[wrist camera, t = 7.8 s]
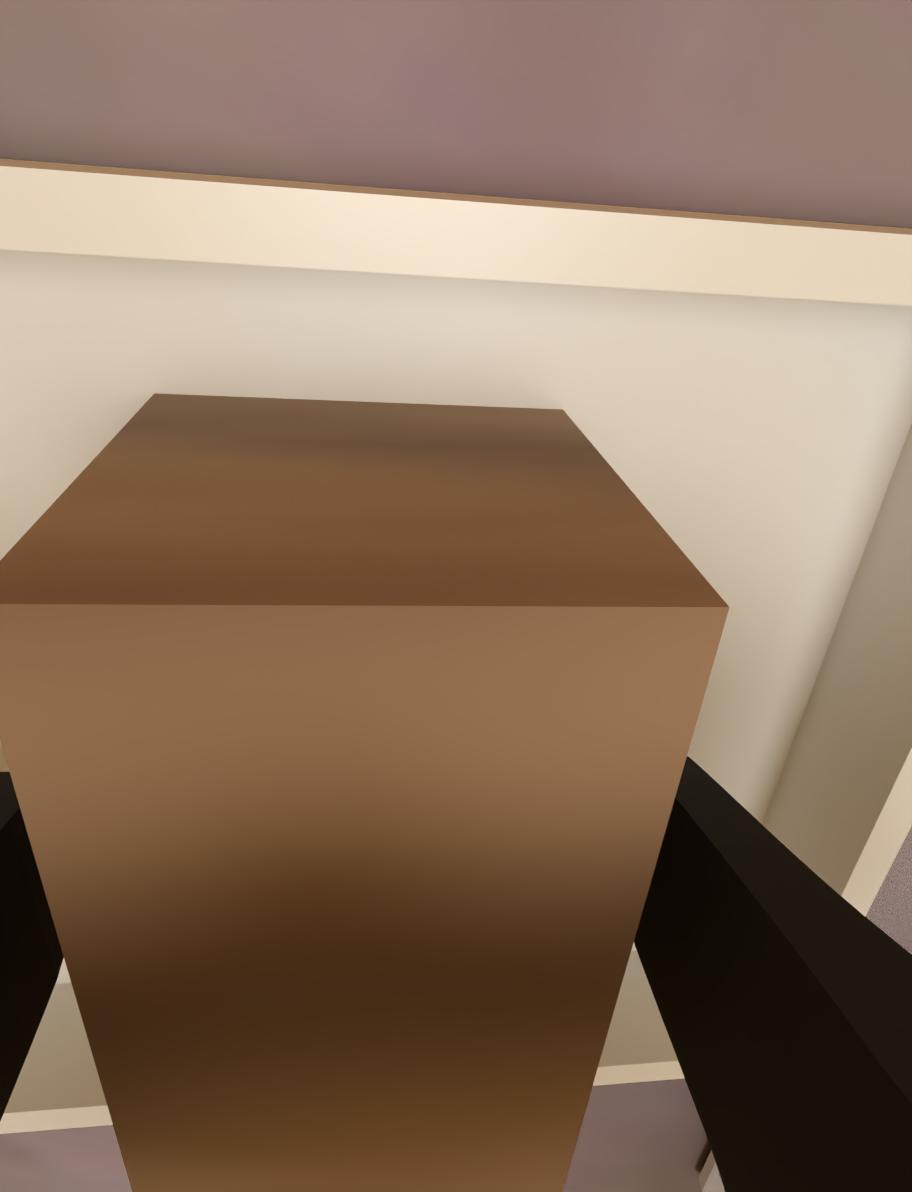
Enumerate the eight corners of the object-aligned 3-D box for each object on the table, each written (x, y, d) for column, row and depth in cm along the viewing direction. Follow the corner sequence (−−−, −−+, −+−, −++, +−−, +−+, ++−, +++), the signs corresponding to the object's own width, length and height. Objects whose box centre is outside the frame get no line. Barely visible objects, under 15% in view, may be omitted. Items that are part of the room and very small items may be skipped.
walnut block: (495, 888, 14) (557, 1210, 10) (218, 901, 13) (150, 1252, 9) (563, 409, 10) (729, 607, 5) (154, 393, 9) (-42, 604, 5)
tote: (721, 929, 17) (787, 1069, 14) (-56, 972, 15) (-146, 1145, 12) (979, 233, 10) (1200, 256, 7) (-414, 126, 8) (-800, 105, 5)
